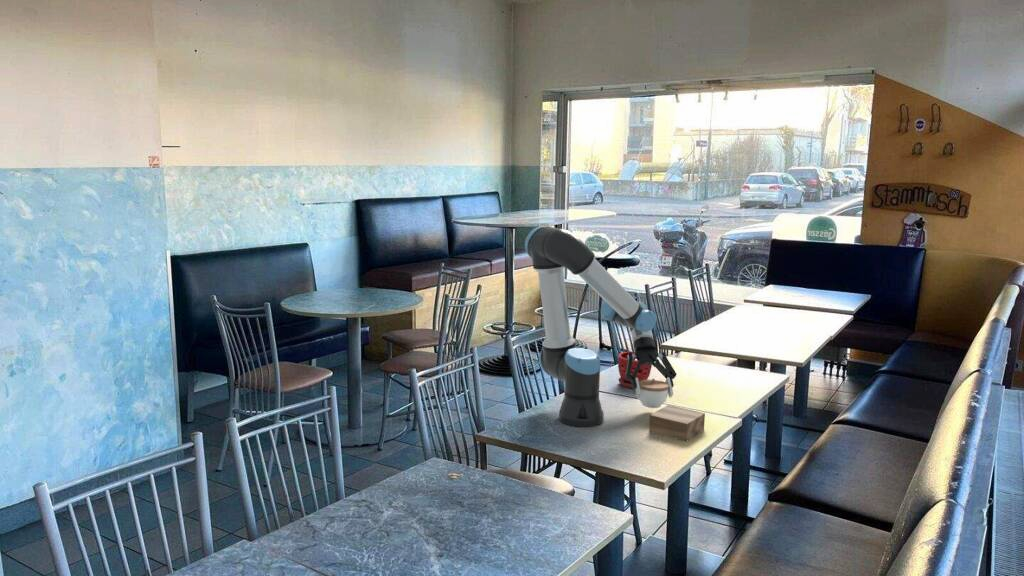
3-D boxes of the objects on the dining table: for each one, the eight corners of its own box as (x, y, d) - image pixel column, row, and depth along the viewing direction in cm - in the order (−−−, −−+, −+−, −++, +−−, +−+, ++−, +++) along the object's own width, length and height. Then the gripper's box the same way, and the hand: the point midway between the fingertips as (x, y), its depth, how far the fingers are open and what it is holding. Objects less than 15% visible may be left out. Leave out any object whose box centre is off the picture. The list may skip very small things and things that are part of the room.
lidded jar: (634, 408, 250) (635, 381, 248) (638, 399, 260) (639, 373, 258) (666, 411, 247) (667, 385, 245) (668, 402, 257) (670, 376, 255)
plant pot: (615, 388, 281) (616, 358, 279) (619, 379, 294) (620, 350, 292) (650, 391, 278) (651, 360, 276) (652, 381, 291) (653, 352, 289)
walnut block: (686, 442, 228) (687, 424, 227) (649, 432, 236) (649, 414, 235) (703, 430, 238) (704, 413, 237) (667, 421, 246) (668, 404, 245)
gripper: (670, 346, 267) (684, 400, 255) (609, 347, 264) (619, 401, 251) (677, 335, 261) (690, 390, 249) (614, 336, 258) (625, 391, 245)
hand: (655, 396), depth 250 cm, fingers closed on lidded jar, 11 cm apart
